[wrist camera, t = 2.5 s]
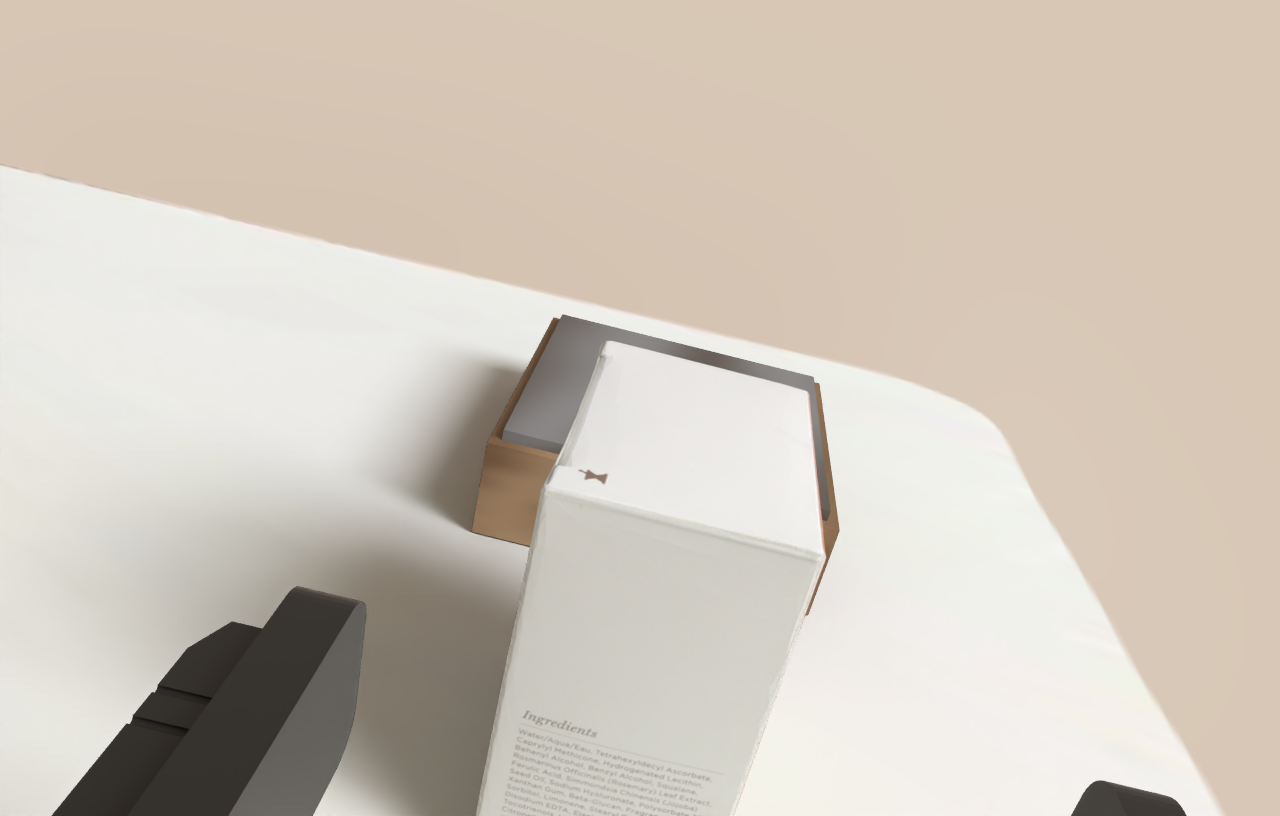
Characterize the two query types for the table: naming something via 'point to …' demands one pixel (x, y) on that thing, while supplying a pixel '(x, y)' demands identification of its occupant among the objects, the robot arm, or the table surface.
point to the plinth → (551, 406)
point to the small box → (658, 594)
